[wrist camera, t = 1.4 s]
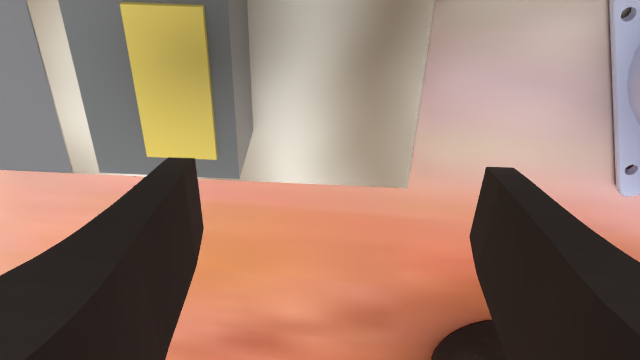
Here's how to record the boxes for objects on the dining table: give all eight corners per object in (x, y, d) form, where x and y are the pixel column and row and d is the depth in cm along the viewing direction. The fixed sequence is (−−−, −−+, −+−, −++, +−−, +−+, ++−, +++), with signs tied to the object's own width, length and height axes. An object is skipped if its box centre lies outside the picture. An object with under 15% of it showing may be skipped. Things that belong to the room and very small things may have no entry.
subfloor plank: (447, -134, 18) (454, -131, 17) (405, 172, 24) (407, 188, 23) (-276, -160, 18) (-312, -158, 17) (-121, 149, 25) (-140, 163, 24)
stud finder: (244, -53, 18) (224, -25, 15) (253, 130, 22) (238, 182, 19) (96, -58, 18) (46, -31, 15) (131, 125, 22) (97, 176, 19)
